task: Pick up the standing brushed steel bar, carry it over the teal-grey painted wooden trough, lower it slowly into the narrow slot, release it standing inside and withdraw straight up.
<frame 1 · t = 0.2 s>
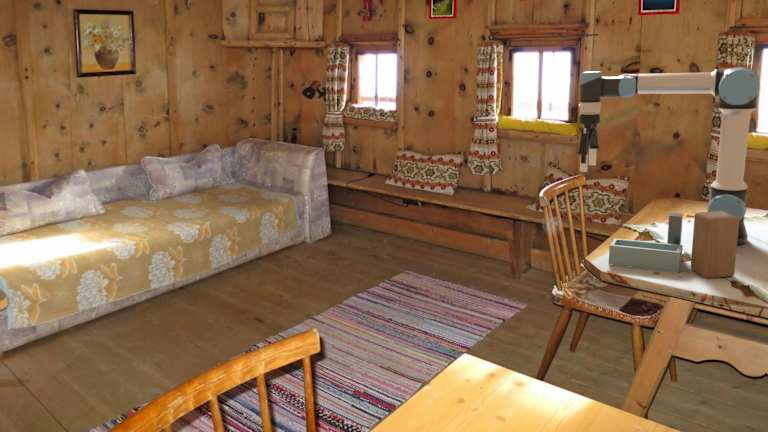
hand: (588, 168, 255), 28 cm above the table, fingers open, 13 cm apart
well: (644, 264, 229), on the table
wooden block: (711, 273, 218), on the table
brushed steel bar: (673, 258, 233), on the table
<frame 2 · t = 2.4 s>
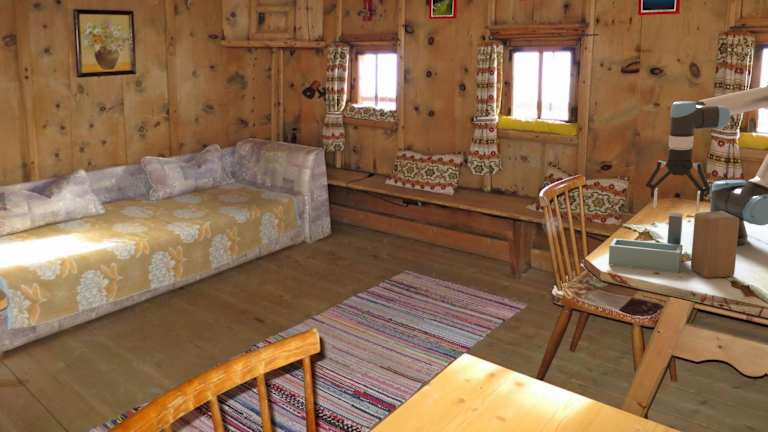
hand: (675, 208, 228), 18 cm above the table, fingers open, 13 cm apart
nothing on the table moved.
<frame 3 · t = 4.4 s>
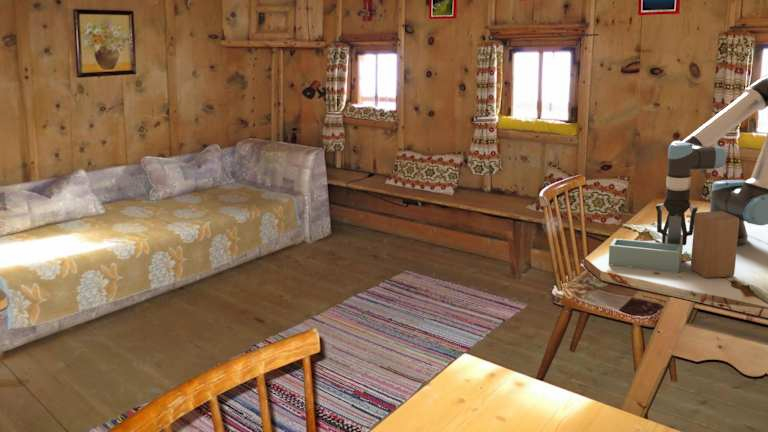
hand: (673, 252, 233), 2 cm above the table, fingers closed on brushed steel bar, 4 cm apart
brushed steel bar: (673, 258, 233), on the table, touching gripper
everything else where it was.
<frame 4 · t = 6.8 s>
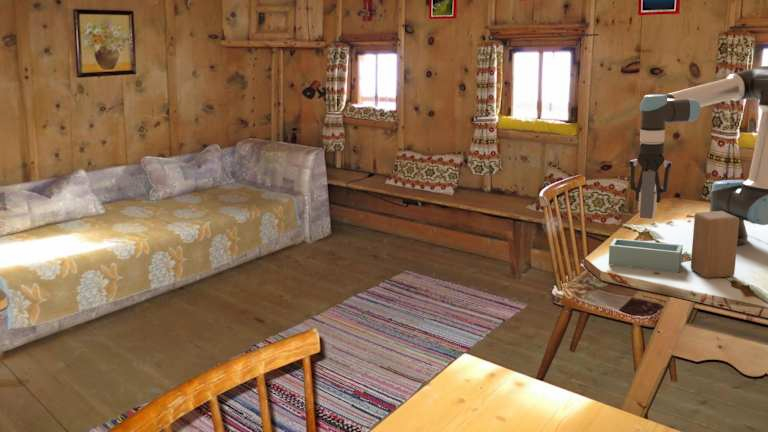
hand: (647, 210, 224), 19 cm above the table, fingers closed on brushed steel bar, 4 cm apart
brushed steel bar: (646, 216, 224), point 17 cm above the table, touching gripper
everything else where it was.
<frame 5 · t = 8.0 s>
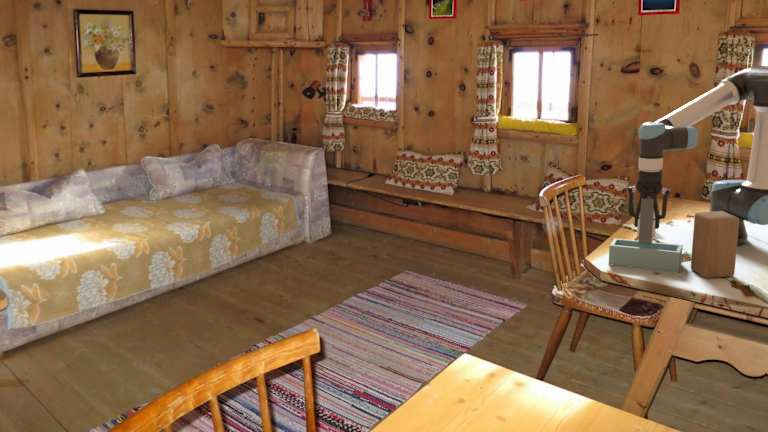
hand: (646, 236, 226), 10 cm above the table, fingers closed on brushed steel bar, 4 cm apart
brushed steel bar: (645, 242, 226), point 8 cm above the table, touching gripper
everything else where it was.
when the fingers open (5 cm above the table, at t = 9.1 s): brushed steel bar drops 1 cm, resting on well.
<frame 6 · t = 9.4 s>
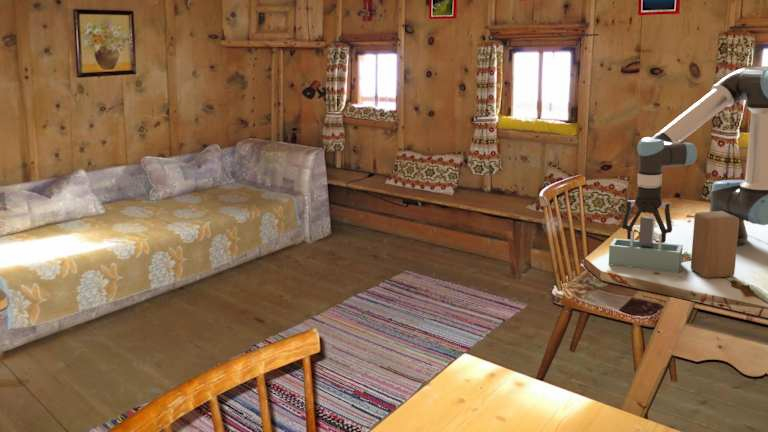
hand: (645, 249, 227), 5 cm above the table, fingers open, 8 cm apart
brushed steel bar: (645, 261, 228), point 1 cm above the table, touching well
everything else where it was.
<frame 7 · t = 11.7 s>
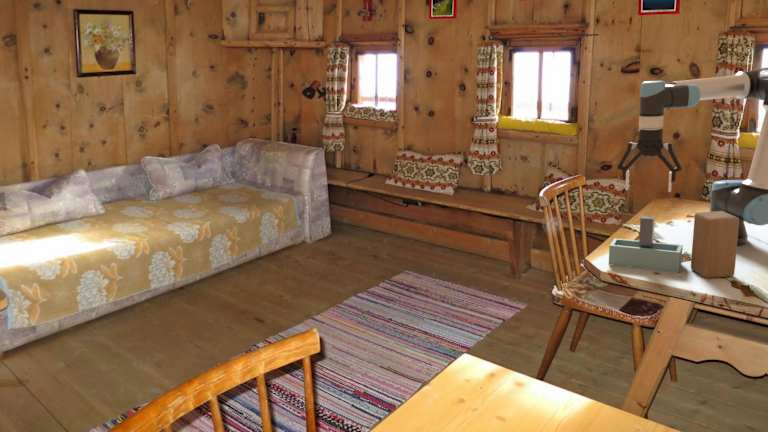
hand: (648, 190, 225), 26 cm above the table, fingers open, 13 cm apart
nothing on the table moved.
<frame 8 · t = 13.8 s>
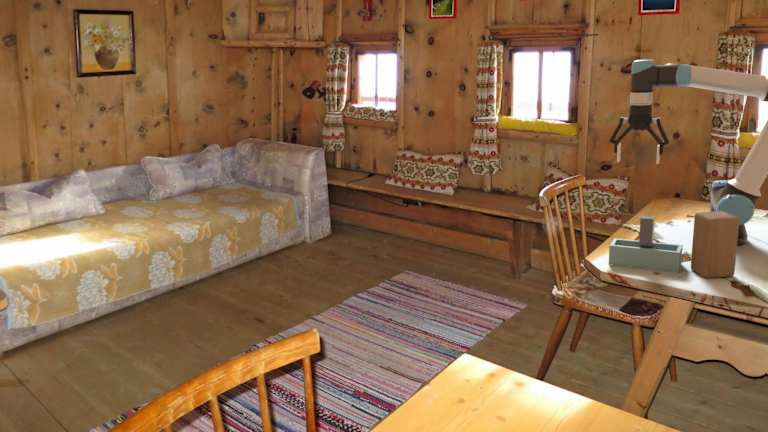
hand: (637, 162, 241), 32 cm above the table, fingers open, 13 cm apart
nothing on the table moved.
at the end: brushed steel bar inside the target area on the well (0.1 cm from its centre), point 1.0 cm above the well's base; brushed steel bar tilted 0°; the gripper is holding nothing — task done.
